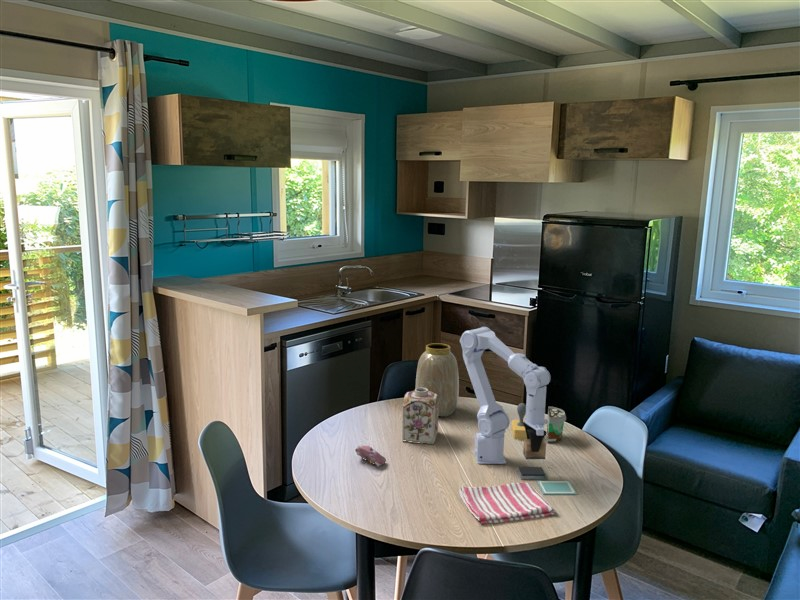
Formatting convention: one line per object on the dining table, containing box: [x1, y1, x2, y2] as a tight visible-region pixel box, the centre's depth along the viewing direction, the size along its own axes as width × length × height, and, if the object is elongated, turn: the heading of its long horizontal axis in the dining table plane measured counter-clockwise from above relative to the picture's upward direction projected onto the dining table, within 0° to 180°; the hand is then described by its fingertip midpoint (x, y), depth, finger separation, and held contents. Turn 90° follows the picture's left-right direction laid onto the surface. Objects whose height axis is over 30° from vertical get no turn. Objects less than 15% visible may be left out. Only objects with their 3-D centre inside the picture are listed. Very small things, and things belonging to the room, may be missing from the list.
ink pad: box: [516, 466, 548, 481], centre depth 192 cm, size 8×6×2 cm
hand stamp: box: [522, 439, 547, 460], centre depth 191 cm, size 6×4×7 cm, turn 91°
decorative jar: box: [401, 387, 439, 445], centre depth 219 cm, size 12×12×18 cm
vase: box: [415, 342, 460, 417], centre depth 244 cm, size 17×17×27 cm
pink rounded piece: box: [355, 444, 387, 465], centre depth 200 cm, size 10×5×7 cm, turn 48°
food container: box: [546, 406, 567, 444], centre depth 220 cm, size 12×6×10 cm, turn 168°
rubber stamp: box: [510, 402, 527, 441], centre depth 224 cm, size 10×6×12 cm, turn 176°
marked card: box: [536, 480, 578, 496], centre depth 184 cm, size 10×8×1 cm
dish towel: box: [458, 482, 557, 525], centre depth 174 cm, size 17×23×4 cm
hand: (533, 448), depth 191 cm, fingers closed on hand stamp, 4 cm apart
